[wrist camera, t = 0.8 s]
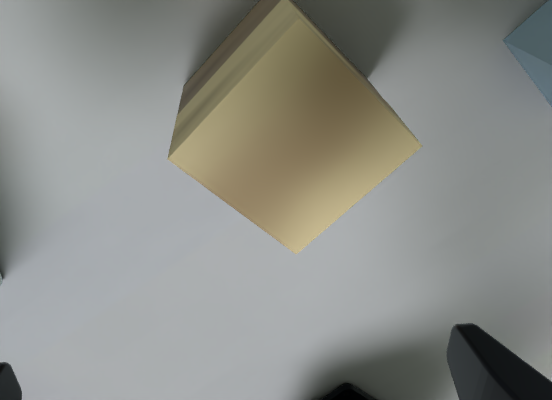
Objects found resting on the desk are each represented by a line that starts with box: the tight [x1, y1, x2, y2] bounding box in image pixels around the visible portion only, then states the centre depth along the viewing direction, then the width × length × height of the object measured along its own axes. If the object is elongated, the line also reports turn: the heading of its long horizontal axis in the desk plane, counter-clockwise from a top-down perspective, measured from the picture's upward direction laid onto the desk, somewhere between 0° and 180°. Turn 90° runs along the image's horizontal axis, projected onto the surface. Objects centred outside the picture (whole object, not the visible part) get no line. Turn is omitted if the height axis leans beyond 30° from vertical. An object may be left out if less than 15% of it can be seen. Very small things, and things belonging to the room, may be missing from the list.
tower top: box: [168, 0, 422, 254], centre depth 16 cm, size 6×6×4 cm
